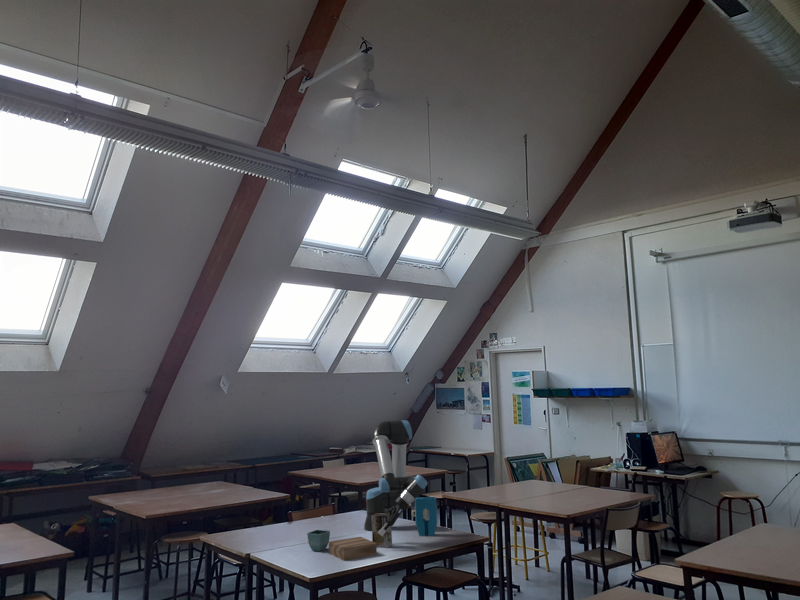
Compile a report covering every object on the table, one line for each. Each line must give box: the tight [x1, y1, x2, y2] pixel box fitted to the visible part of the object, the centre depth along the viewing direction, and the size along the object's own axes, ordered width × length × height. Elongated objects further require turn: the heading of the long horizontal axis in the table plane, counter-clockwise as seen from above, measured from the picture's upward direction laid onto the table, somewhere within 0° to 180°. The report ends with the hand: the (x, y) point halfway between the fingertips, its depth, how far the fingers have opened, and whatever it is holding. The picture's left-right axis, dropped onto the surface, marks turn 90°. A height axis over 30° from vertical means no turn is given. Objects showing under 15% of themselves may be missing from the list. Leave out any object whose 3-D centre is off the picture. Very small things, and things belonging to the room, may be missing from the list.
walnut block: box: [328, 536, 378, 562], centre depth 296 cm, size 18×18×6 cm
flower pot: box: [306, 529, 331, 552], centre depth 307 cm, size 9×9×9 cm
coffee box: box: [371, 513, 393, 548], centre depth 312 cm, size 9×6×16 cm
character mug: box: [411, 508, 429, 530], centre depth 348 cm, size 11×7×13 cm, turn 84°
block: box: [414, 496, 438, 537], centre depth 335 cm, size 12×5×20 cm, turn 86°
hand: (377, 532), depth 311 cm, fingers open, 13 cm apart
